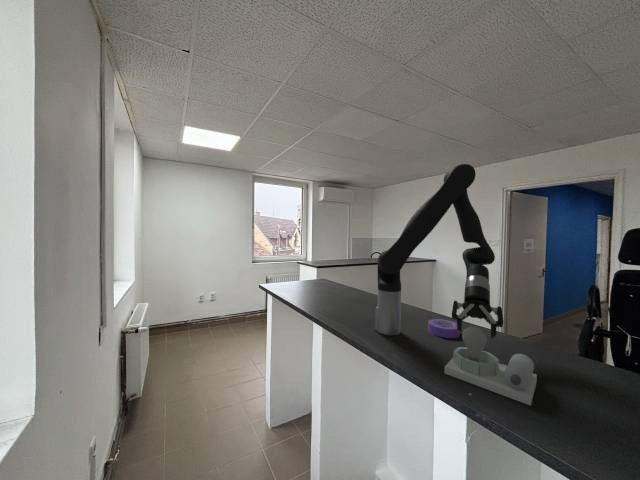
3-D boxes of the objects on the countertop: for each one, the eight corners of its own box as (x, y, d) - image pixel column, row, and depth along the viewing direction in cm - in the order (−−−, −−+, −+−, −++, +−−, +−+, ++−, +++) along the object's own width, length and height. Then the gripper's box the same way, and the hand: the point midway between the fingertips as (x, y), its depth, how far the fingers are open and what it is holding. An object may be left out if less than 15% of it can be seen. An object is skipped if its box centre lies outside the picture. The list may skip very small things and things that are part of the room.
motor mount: (444, 373, 72) (444, 349, 72) (459, 357, 82) (460, 335, 82) (530, 405, 58) (531, 375, 58) (536, 381, 68) (537, 356, 68)
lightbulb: (482, 361, 75) (483, 325, 75) (489, 372, 69) (490, 332, 69) (459, 358, 77) (460, 322, 77) (464, 368, 71) (464, 329, 71)
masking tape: (464, 339, 97) (464, 329, 97) (432, 337, 98) (432, 327, 98) (453, 328, 108) (453, 320, 108) (424, 326, 110) (425, 318, 110)
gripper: (453, 282, 90) (449, 323, 81) (502, 287, 83) (504, 333, 73) (454, 294, 95) (451, 334, 85) (501, 300, 87) (503, 344, 78)
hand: (475, 333), depth 79 cm, fingers open, 8 cm apart
